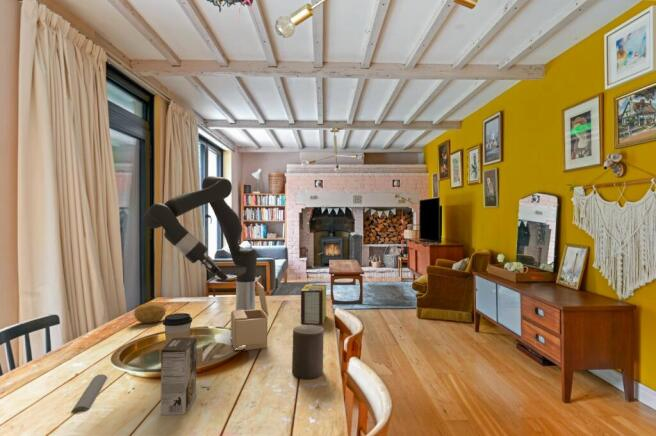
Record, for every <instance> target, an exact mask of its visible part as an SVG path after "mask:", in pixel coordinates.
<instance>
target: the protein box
mask: <svg viewBox="0 0 656 436" xmlns="http://www.w3.org/2000/svg"><path fill="white" fill-rule="evenodd" d="M326 317H327V285H326V284H305V285H304V287H302V288H301V290H300V324H301V325H323V324H324V322H325V319H326Z"/></svg>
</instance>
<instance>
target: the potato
mask: <svg viewBox="0 0 656 436" xmlns="http://www.w3.org/2000/svg"><path fill="white" fill-rule="evenodd" d="M166 312H167V310H166V308H165V307H164V305H163V304H162V303H158V302H156V301H148V302H146V303H143V304H140V305H138V306H137V307H136V309H135V310H134V312H133V314H134V318H135V320H136V321H137V322H139V323H142V324H152V323H153V324H154V323H156V322H157V323H158V322H160V321H161V320H163V319H164V318H165V317H166Z"/></svg>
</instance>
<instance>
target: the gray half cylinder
mask: <svg viewBox="0 0 656 436" xmlns="http://www.w3.org/2000/svg"><path fill="white" fill-rule="evenodd" d="M107 380H108V376H107V375H106V374H97V375H95V376H94V377H93V378H92V380H91V381H90V383H89V384H88V386H87V388H86V389H85V390H84V392H83V393H82V395H81V396H80V397H79V400H77V403H76V404H75V405H74V407H73V408H72V410H71V411H70V412H71V413H75V412H82V411H88V410H91V408H92V405H93V404H94V402H95V401H96V399H97V397H98V395H99V394H100V392H101V390H102V388H103V387H104V385H105V383H106V382H107Z"/></svg>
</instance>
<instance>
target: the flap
mask: <svg viewBox="0 0 656 436" xmlns="http://www.w3.org/2000/svg"><path fill="white" fill-rule="evenodd" d="M256 285H257V291H258V296H259V301H260V303H259V304H260V309H261V310H262V311H263V312H264V314H265V315H266V317H269V310H268V303H267V296H266V292H265V291H266V290H265V288H264V286H263V285H262V284H261V283H260V281H256Z"/></svg>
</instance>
